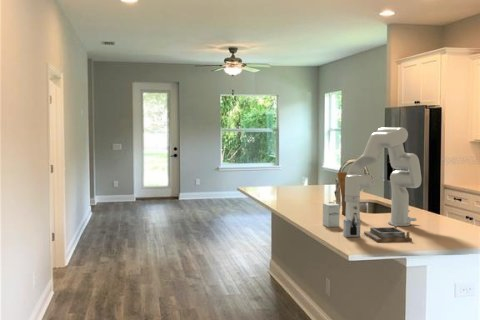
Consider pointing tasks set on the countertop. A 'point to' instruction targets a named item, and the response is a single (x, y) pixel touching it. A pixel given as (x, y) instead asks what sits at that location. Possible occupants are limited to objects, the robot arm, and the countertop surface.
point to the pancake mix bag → (342, 189)
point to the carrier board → (387, 234)
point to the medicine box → (347, 228)
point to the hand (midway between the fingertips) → (351, 233)
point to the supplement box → (331, 214)
